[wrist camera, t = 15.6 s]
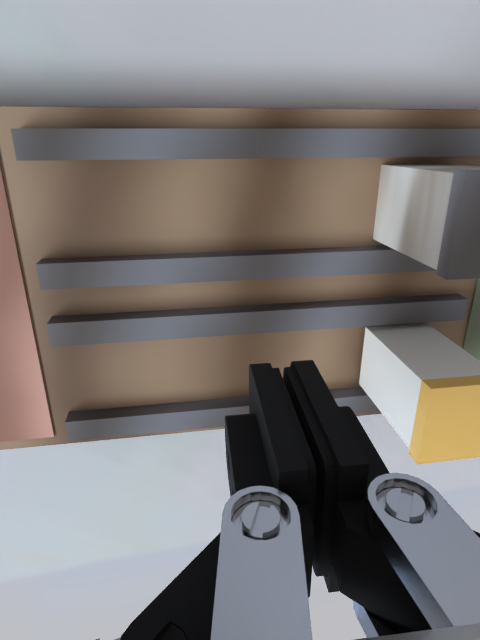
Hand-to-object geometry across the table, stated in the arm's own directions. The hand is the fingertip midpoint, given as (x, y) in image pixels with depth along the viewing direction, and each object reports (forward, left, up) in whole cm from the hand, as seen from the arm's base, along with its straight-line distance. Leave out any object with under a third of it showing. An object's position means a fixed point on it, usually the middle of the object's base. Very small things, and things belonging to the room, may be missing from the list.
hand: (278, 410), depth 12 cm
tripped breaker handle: (-7, +3, -8) cm, 11 cm away
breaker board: (-1, -1, -10) cm, 10 cm away
